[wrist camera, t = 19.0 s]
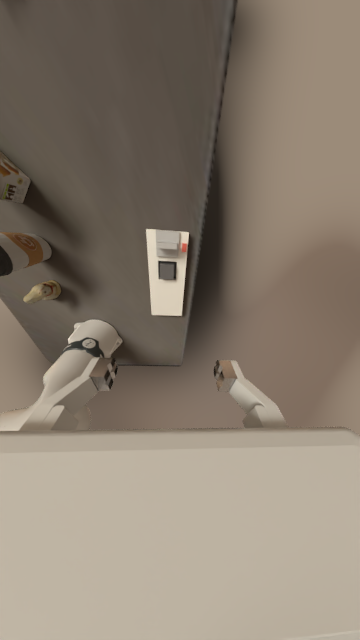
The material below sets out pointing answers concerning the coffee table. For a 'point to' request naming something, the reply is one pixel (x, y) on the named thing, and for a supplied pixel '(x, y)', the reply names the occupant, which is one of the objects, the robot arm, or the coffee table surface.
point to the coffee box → (12, 181)
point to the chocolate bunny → (43, 292)
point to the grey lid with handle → (167, 243)
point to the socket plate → (167, 290)
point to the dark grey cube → (166, 270)
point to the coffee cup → (21, 251)
